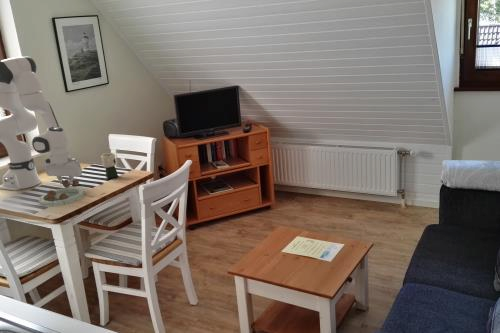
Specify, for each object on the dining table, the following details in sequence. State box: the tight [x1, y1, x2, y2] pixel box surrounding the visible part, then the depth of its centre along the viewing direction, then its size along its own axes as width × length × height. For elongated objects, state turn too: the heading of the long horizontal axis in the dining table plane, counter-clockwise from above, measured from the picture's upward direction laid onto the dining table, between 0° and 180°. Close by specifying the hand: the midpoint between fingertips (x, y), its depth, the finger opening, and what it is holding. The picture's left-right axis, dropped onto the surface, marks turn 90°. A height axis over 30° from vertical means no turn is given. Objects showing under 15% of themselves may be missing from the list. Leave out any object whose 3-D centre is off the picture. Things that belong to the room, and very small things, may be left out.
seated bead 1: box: [46, 189, 56, 196], centre depth 255 cm, size 4×4×4 cm
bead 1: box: [61, 179, 71, 188], centre depth 269 cm, size 4×4×4 cm
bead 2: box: [71, 178, 80, 187], centre depth 273 cm, size 4×4×4 cm
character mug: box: [100, 152, 119, 179], centre depth 280 cm, size 11×7×13 cm, turn 16°
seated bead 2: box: [46, 194, 55, 201], centre depth 249 cm, size 4×4×4 cm
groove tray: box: [38, 187, 85, 207], centre depth 254 cm, size 21×21×3 cm
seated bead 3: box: [59, 193, 68, 200], centre depth 248 cm, size 4×4×4 cm
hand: (66, 183), depth 269 cm, fingers closed on bead 1, 4 cm apart
